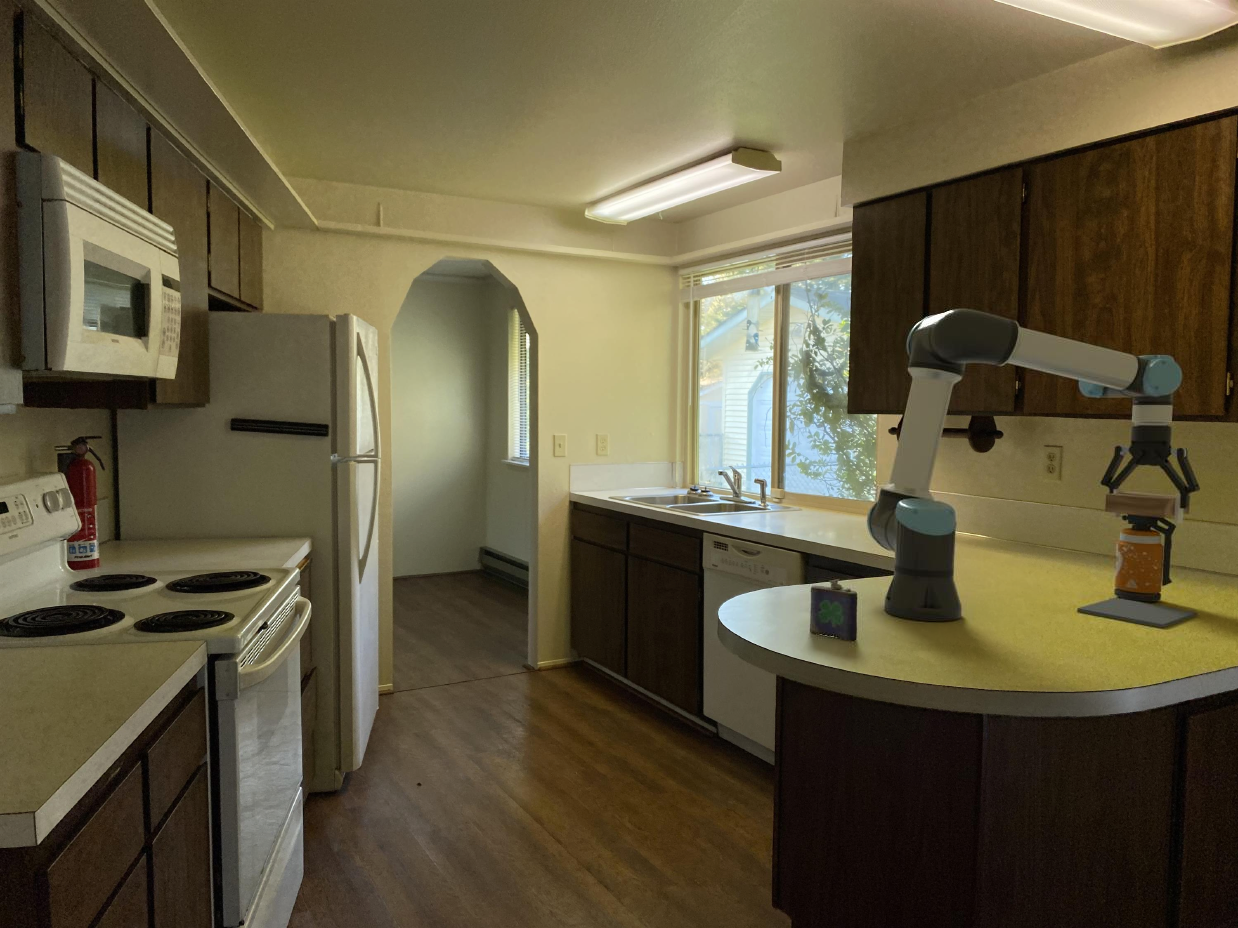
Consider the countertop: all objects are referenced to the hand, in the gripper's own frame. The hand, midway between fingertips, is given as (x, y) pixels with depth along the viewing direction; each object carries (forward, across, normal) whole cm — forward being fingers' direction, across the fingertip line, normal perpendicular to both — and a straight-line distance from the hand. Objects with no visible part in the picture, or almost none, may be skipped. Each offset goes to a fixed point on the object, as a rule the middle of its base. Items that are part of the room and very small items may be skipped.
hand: (1146, 520), depth 183 cm
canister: (+18, 0, 0) cm, 18 cm away
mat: (+18, -5, +16) cm, 25 cm away
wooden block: (-2, 0, 0) cm, 2 cm away
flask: (+18, +20, +84) cm, 88 cm away
